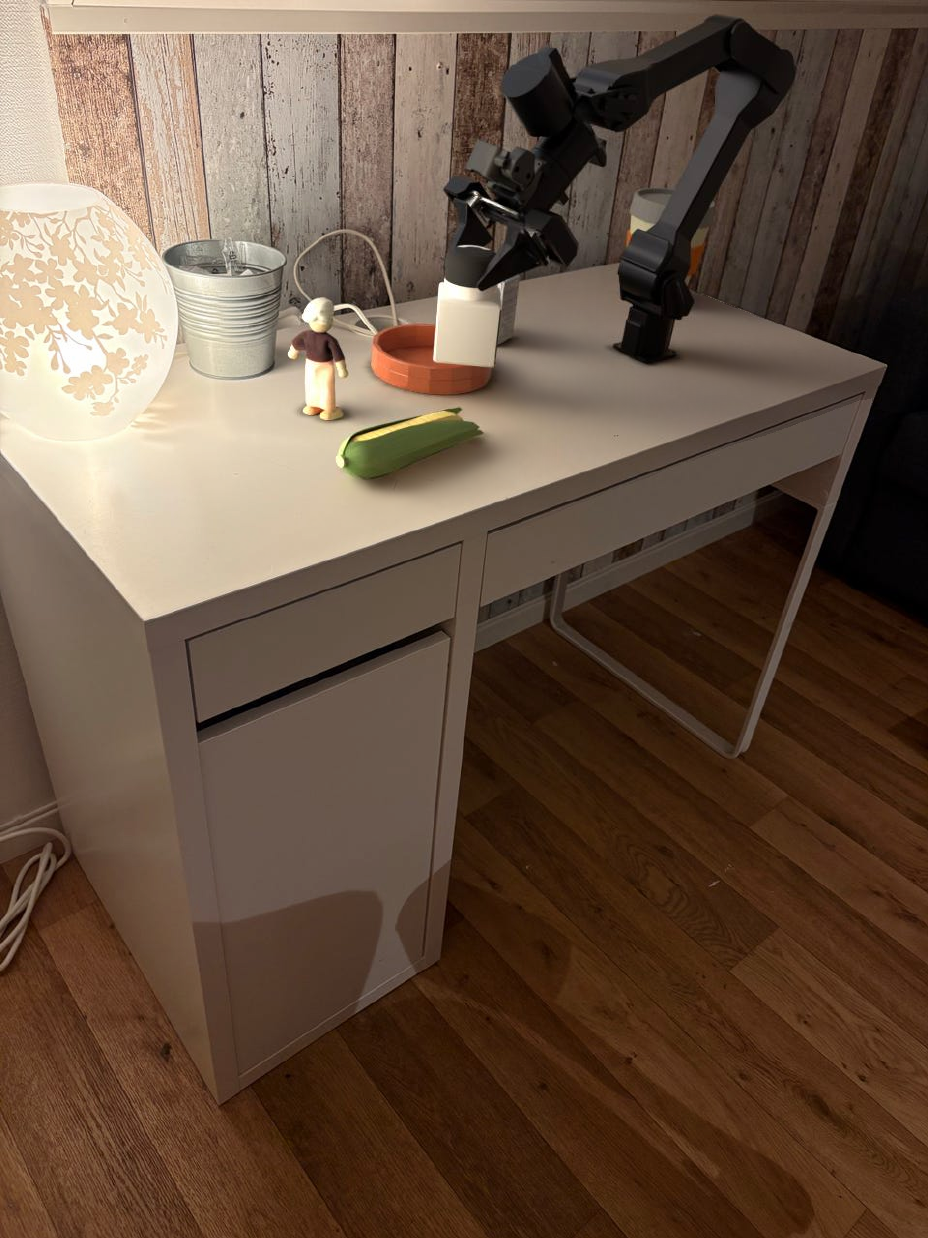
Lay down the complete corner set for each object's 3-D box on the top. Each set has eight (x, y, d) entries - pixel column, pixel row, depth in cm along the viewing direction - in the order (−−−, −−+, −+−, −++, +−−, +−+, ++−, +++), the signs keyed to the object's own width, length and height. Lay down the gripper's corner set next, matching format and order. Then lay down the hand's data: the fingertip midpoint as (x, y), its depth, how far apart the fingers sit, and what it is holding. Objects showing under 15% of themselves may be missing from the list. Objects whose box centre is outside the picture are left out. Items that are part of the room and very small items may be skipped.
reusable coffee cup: (674, 317, 147) (698, 213, 138) (600, 295, 152) (619, 194, 143) (704, 299, 156) (729, 200, 147) (634, 279, 161) (653, 183, 152)
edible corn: (322, 474, 96) (323, 432, 93) (464, 426, 108) (468, 388, 106) (356, 495, 93) (357, 452, 91) (497, 444, 106) (502, 405, 103)
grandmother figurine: (357, 412, 108) (361, 300, 101) (343, 425, 105) (346, 310, 98) (295, 397, 110) (294, 285, 102) (279, 410, 107) (277, 295, 99)
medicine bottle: (494, 368, 111) (507, 262, 104) (433, 363, 111) (441, 256, 104) (493, 345, 117) (504, 243, 110) (434, 340, 117) (442, 237, 110)
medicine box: (513, 338, 133) (522, 274, 127) (497, 346, 129) (505, 281, 124) (465, 322, 136) (471, 259, 130) (447, 330, 132) (453, 266, 127)
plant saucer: (440, 340, 129) (442, 316, 127) (515, 381, 120) (518, 356, 118) (348, 358, 121) (348, 333, 119) (420, 403, 112) (422, 377, 110)
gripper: (464, 95, 107) (375, 207, 107) (575, 131, 95) (475, 256, 96) (511, 168, 115) (428, 271, 116) (618, 209, 104) (526, 324, 105)
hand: (461, 279), depth 108 cm, fingers closed on medicine bottle, 6 cm apart
